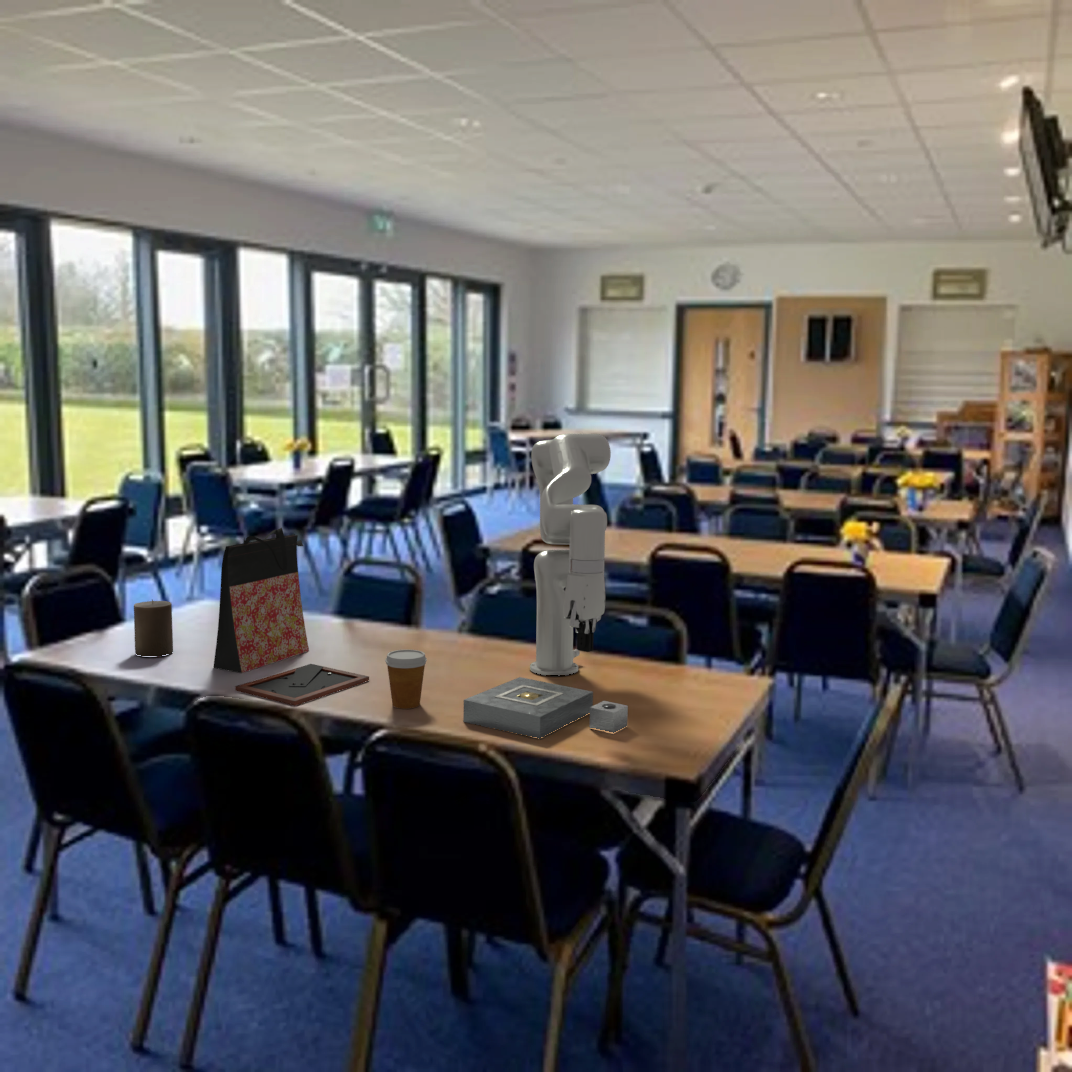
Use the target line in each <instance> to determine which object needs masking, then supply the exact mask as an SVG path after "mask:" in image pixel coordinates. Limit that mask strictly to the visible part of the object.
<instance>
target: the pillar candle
mask: <svg viewBox="0 0 1072 1072" xmlns="http://www.w3.org/2000/svg"><path fill="white" fill-rule="evenodd" d="M172 607H173V606H172V602H171V601H166V600H153V599H151V600H150V601H149V600H147V601H142V602H136V603H134V604H133V624H134V653H136V654H137V655H141V656H162V655H166V654H170V655H172V654H173V653H174V639H173V636H174V632H173V613H172V612H173V609H172ZM172 652H173V653H172ZM171 653H172V654H171ZM136 654H135V655H136Z"/></svg>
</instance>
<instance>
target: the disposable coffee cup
mask: <svg viewBox="0 0 1072 1072" xmlns="http://www.w3.org/2000/svg"><path fill="white" fill-rule="evenodd" d="M384 661H385V664H386V666H387V672H388V673H387V674H388V682H389V688H390V689H389V690H390V695H391V705H392V707H394V708H396V709H402V710H409V709H415V708H418V707H420V705H421V699H422V697H421V696H422V688H423V681H424V673H425V667H426V663H427V661H428V659H427V657H426V653H425V652H424V651H422V650H418V649H417V650H416V649H397V650H392V651H390V652H388V653H387V654H386V658H385V659H384Z"/></svg>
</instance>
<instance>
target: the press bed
mask: <svg viewBox="0 0 1072 1072" xmlns="http://www.w3.org/2000/svg"><path fill="white" fill-rule="evenodd" d="M526 692H532V693H537V694H538V698H536V699H534V700H530V699H525V698H520V694H522V693H526ZM593 701H594V691H592V690H587V689H586V690H585V689H581V688H575V687H573V686H572V687H571V686H566V685H561V684H557V683H552V682H551V683H550V682H546V681H541V680H536V679H532V678H526V677H521V676H519V677H516V678H515V679H511V680H509V681H507V682H505V683H501V684H500V685H497V686H494V687H491V688H489V689H487V690H483V691H482V692H479V693H477V694H475V695H472V696H469V697H467V698H464V699H463V716H462V717H463V720H462V721H463V723H467V724H471V725H475V724H476V726H479V725H481V726H480V727H485V728H488V727H489V729H492V728H495V729H494V730H496V729H499V730H498V731H501V730H504V731H503V732H505V731H509V732H513V733H517V734H516V735H518V734H522V735H527V736H532V737H537V738H539V739H540V738H541V737H544V736H545V735H547V734H549V733H551V732H553V731H555V730H557V729H559V728H561V727H563V726H564V725H566V724H569V723H570V722H572V721H575V720H577V719H578V718H581V717H583V716H585V715H586V714H588V713H590V707H592V706H594V705H593V704H594V703H593ZM509 732H508V733H509ZM513 733H512V734H513ZM522 735H521V736H522ZM544 738H545V737H544ZM539 739H538V740H539ZM540 740H541V739H540Z"/></svg>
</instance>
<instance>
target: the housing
mask: <svg viewBox="0 0 1072 1072" xmlns="http://www.w3.org/2000/svg"><path fill="white" fill-rule="evenodd" d="M628 707H629V706H628V705H625V704H621V703H617V702H611V701H607V700H602V701H600V702H598V703H596V704H594V705H593V706H592V707H590V715H589V725H588V726H589V727H590V728H596V729H600V730H605V731H609V732H613V733H614V732H616V731H618V730H620V729H622V728H624V727H626V726H627V727H628V717H629V716H628V715H629V714H628V710H629V708H628ZM589 727H588V728H589Z"/></svg>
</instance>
